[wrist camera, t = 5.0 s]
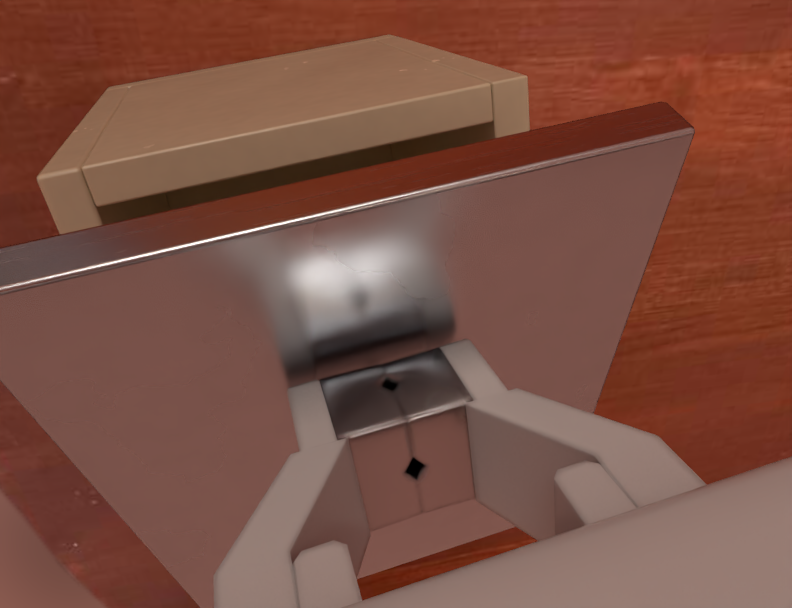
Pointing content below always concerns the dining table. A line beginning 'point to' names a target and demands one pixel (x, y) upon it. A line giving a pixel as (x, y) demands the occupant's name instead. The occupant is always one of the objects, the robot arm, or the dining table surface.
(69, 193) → the tin box
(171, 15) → the dining table surface
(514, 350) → the tin lid
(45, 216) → the dining table surface
